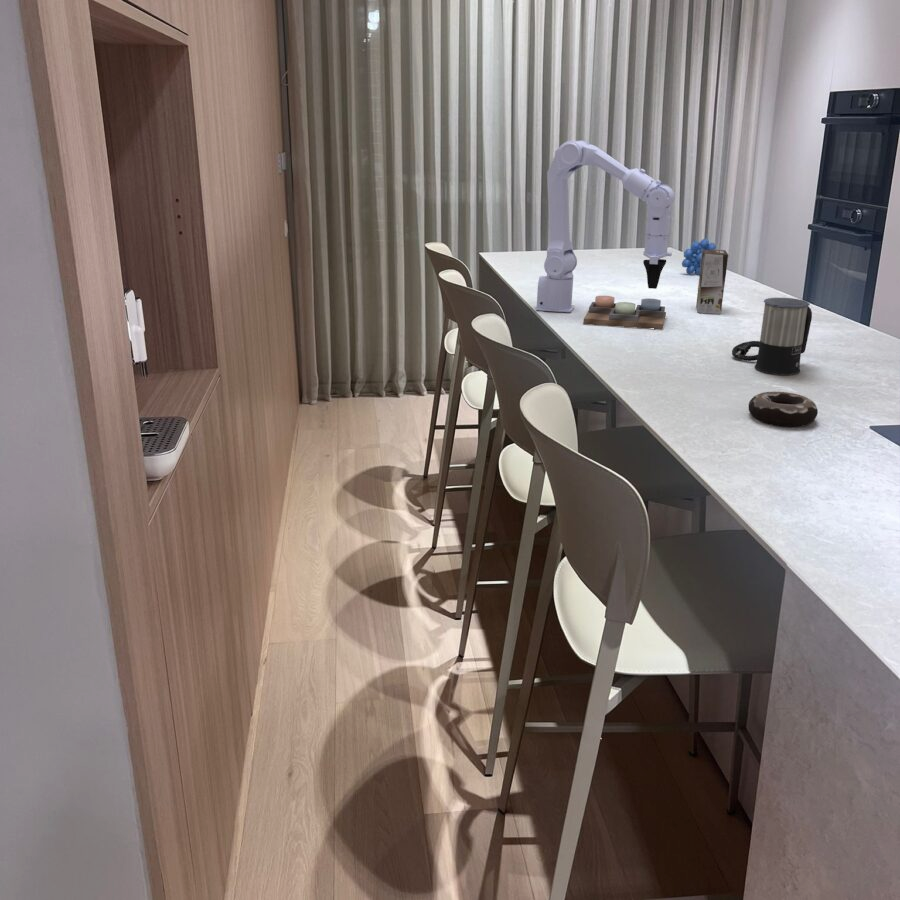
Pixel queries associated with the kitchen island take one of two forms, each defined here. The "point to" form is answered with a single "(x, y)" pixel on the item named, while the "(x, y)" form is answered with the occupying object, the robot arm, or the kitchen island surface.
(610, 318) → the panel
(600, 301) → the button terracotta
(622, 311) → the button sage
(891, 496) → the kitchen island surface
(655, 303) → the button slate
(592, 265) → the kitchen island surface
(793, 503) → the kitchen island surface
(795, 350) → the milk frother
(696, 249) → the grapes
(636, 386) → the kitchen island surface
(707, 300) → the coffee box
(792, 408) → the donut
